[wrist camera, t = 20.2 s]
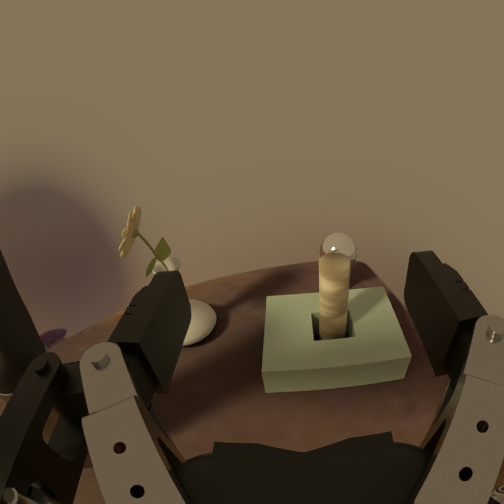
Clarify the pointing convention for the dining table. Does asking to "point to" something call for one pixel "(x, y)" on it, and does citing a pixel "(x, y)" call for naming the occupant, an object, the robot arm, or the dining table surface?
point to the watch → (498, 494)
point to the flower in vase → (200, 311)
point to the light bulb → (339, 246)
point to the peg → (333, 295)
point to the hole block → (332, 344)
